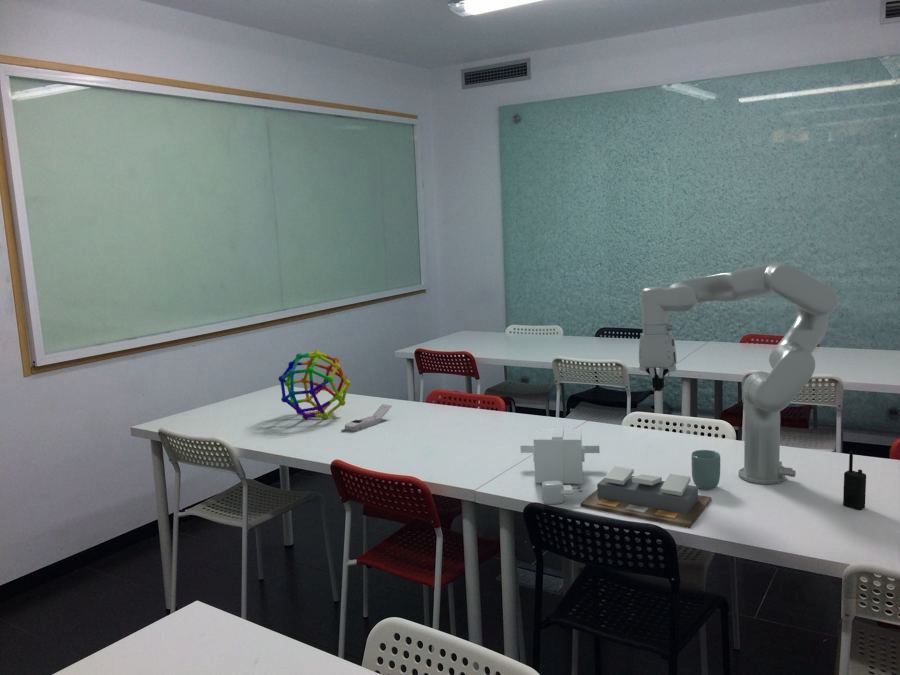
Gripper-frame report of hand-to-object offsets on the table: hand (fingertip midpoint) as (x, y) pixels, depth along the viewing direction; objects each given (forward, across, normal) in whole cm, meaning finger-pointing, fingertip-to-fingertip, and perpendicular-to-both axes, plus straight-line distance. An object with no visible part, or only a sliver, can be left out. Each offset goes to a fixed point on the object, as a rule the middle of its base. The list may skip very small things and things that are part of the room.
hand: (658, 390), depth 211 cm
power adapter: (+26, +19, +30) cm, 44 cm away
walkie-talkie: (+29, -50, +1) cm, 58 cm away
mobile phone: (+25, +123, -10) cm, 126 cm away
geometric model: (+24, +152, -10) cm, 154 cm away
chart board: (+27, -2, +21) cm, 34 cm away
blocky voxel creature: (+27, +30, +7) cm, 41 cm away
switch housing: (+27, -2, +20) cm, 34 cm away
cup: (+28, -13, +3) cm, 31 cm away
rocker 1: (+21, +6, +20) cm, 29 cm away
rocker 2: (+21, -2, +20) cm, 29 cm away
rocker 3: (+21, -10, +20) cm, 31 cm away
